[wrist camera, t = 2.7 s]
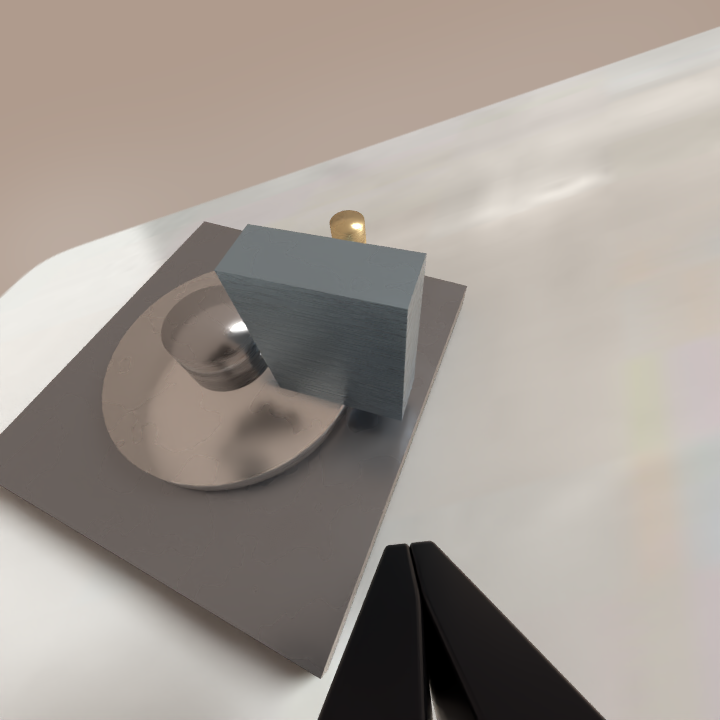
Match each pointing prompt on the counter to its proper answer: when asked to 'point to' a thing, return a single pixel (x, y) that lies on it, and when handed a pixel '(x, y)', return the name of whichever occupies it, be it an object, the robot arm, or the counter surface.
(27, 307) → the counter surface
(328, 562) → the locating plate
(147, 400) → the flange
